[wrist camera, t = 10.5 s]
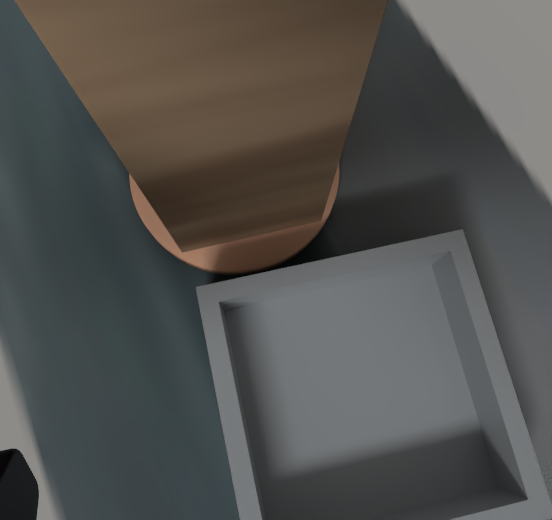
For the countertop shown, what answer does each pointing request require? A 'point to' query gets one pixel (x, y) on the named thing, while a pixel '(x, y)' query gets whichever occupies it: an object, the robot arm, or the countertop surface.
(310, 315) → the gray tray
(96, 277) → the countertop surface
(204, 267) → the brown curved piece
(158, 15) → the walnut box
